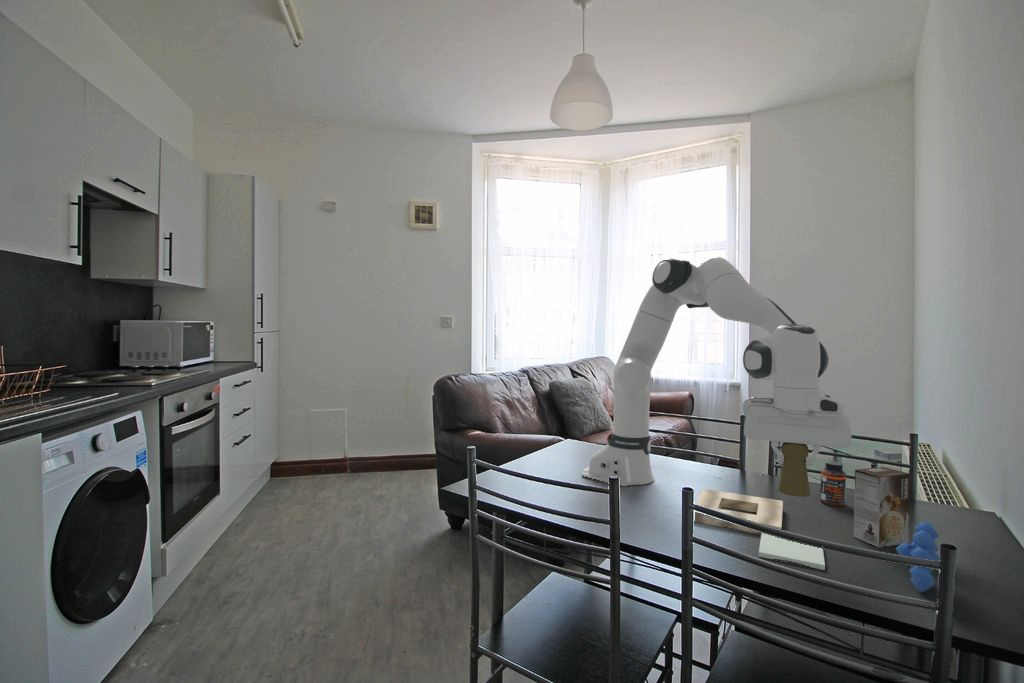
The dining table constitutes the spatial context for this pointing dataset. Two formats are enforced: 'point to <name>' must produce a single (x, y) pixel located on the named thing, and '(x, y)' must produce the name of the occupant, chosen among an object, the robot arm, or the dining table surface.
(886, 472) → the cookie box
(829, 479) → the supplement bottle
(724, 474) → the dining table surface
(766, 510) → the socket plate
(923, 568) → the grapes
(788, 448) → the cork
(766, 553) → the pad
